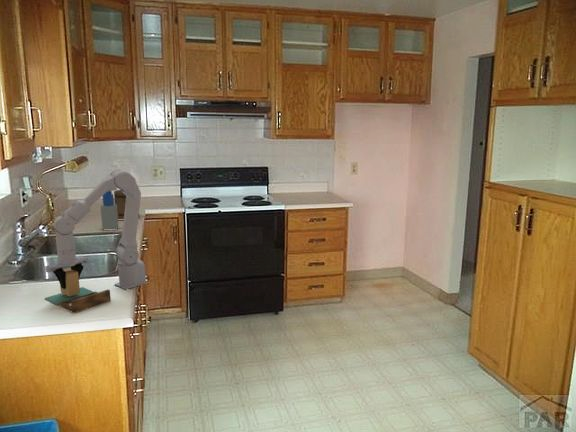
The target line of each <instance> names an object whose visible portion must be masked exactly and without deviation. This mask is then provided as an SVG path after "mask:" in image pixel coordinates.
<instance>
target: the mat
mask: <svg viewBox="0 0 576 432" xmlns="http://www.w3.org/2000/svg"><path fill="white" fill-rule="evenodd" d="M92 292H94V291H93V290H90V289H88V288H86V287H83V286H82V287H81V286H80V293H79V294H76V295H72V296H67V295H65V294H63V293H61V292H60V293H58V294H54V295H51V296H47V297H44V300H46V301H47V302H50V304H53V305H55V306H60V305H59V302H62V301H66V300H69V299H72V298H76V297H79V296H82V295H86V294H89V293H92Z"/></svg>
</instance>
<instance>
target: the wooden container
mask: <svg viewBox="0 0 576 432" xmlns="http://www.w3.org/2000/svg"><path fill="white" fill-rule="evenodd" d="M113 197H114V204H116V205H117V212H118V219H124V212H125V203H126V195H125V194H124V193H123V192H122V191H121V190H120V189H117V190H114V191H113ZM138 217H139V218H140V215H139V216H138Z"/></svg>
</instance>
